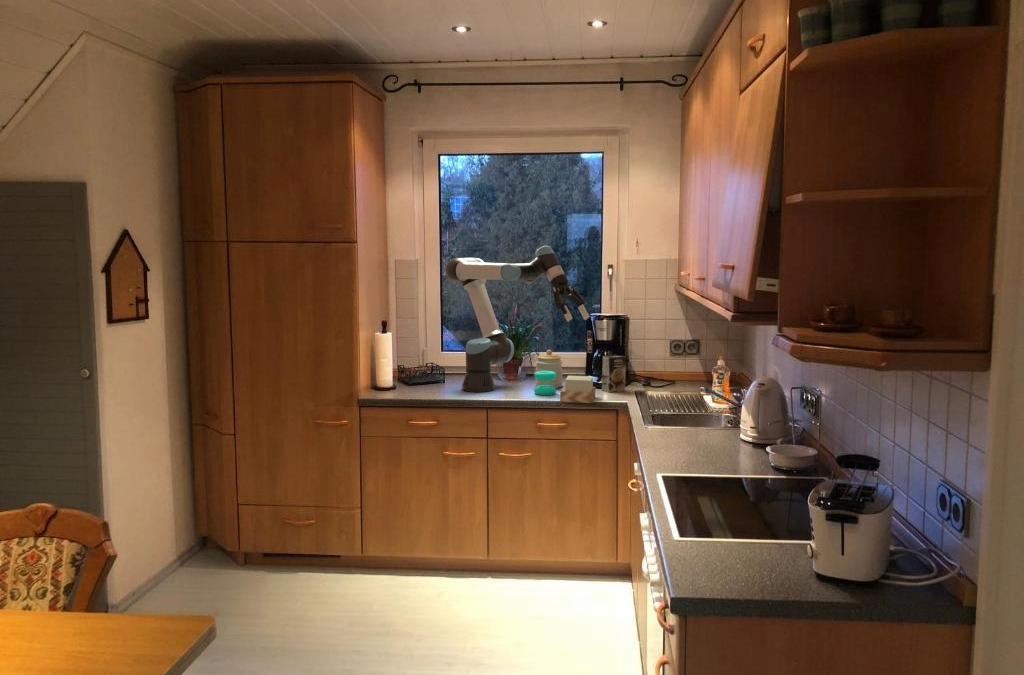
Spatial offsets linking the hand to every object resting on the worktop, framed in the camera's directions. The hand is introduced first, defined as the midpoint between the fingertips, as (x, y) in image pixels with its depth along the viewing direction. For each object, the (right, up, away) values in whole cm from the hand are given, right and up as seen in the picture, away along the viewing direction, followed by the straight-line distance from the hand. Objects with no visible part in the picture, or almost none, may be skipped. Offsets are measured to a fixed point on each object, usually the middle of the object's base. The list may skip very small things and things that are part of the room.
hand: (578, 319), depth 336 cm
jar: (-11, -31, +32) cm, 46 cm away
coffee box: (+18, -33, +22) cm, 43 cm away
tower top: (0, -31, 0) cm, 30 cm away
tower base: (0, -35, +1) cm, 35 cm away
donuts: (-14, -34, +14) cm, 39 cm away
